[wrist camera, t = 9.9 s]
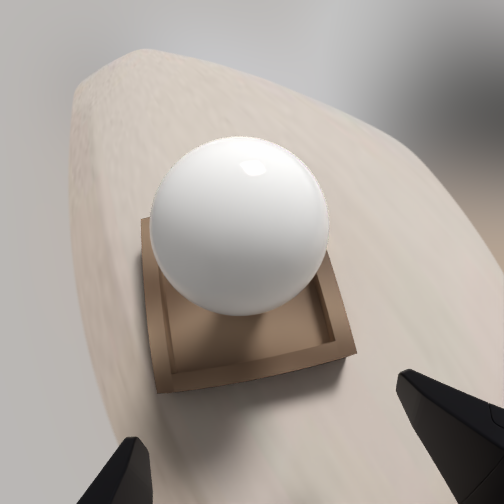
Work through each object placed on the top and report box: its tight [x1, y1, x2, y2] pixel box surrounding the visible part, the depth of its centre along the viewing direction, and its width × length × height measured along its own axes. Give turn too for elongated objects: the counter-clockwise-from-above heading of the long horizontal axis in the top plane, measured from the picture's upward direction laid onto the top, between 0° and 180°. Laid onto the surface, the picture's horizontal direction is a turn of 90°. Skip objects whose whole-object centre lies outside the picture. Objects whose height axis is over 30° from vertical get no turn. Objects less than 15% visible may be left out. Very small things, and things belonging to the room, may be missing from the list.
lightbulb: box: [149, 136, 330, 316], centre depth 13 cm, size 6×6×11 cm
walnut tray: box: [141, 217, 357, 394], centre depth 18 cm, size 11×11×2 cm
